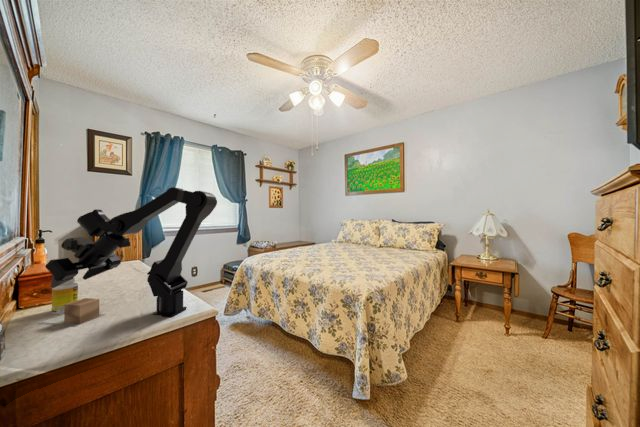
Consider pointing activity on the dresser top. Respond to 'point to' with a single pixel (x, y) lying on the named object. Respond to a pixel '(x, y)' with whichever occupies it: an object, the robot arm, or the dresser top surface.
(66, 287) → the supplement bottle
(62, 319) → the grey flat slab
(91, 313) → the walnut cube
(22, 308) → the dresser top surface
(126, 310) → the dresser top surface
